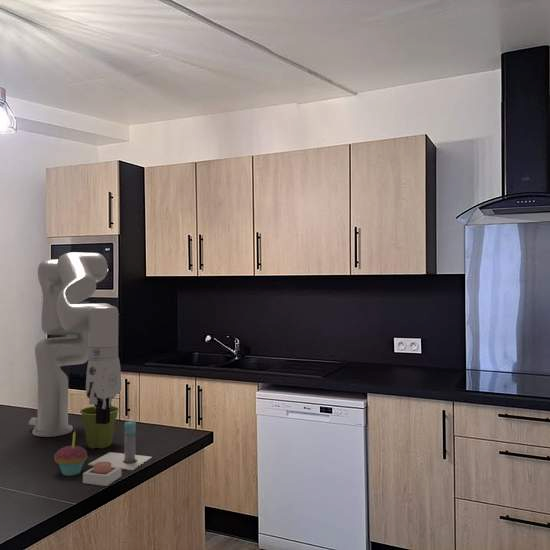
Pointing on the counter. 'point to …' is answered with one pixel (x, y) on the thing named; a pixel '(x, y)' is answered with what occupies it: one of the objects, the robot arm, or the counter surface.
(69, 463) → the cupcake
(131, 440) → the marker
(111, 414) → the plant pot
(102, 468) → the button
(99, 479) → the button housing
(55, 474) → the counter surface
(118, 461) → the paper
